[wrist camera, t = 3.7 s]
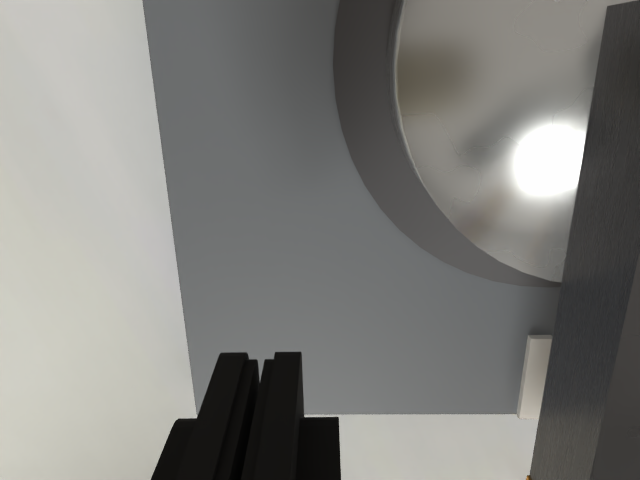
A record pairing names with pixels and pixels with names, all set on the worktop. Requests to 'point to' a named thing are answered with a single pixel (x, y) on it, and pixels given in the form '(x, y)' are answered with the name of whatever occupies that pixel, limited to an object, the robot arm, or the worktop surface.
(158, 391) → the worktop surface
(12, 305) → the worktop surface
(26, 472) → the worktop surface
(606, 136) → the dial
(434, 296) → the panel
